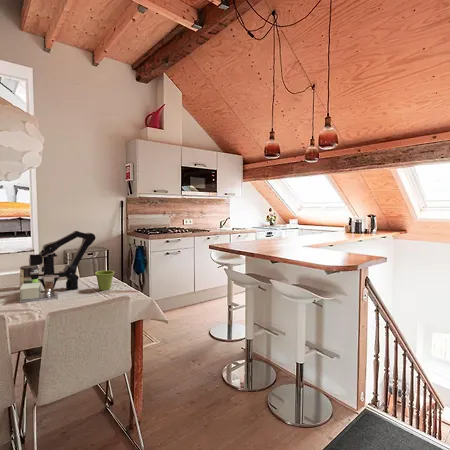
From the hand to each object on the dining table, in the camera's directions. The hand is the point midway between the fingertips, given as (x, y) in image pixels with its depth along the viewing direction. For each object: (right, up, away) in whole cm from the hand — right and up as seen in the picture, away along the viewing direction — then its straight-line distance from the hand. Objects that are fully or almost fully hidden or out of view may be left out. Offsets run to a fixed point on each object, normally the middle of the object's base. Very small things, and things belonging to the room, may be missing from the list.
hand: (49, 288), depth 192 cm
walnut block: (0, -1, 0) cm, 1 cm away
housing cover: (-3, -2, -13) cm, 13 cm away
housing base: (+1, -3, -11) cm, 11 cm away
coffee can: (-18, -2, +10) cm, 21 cm away
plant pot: (+32, -3, +9) cm, 33 cm away
